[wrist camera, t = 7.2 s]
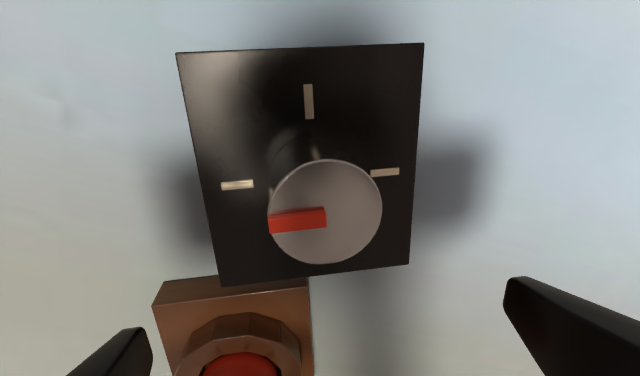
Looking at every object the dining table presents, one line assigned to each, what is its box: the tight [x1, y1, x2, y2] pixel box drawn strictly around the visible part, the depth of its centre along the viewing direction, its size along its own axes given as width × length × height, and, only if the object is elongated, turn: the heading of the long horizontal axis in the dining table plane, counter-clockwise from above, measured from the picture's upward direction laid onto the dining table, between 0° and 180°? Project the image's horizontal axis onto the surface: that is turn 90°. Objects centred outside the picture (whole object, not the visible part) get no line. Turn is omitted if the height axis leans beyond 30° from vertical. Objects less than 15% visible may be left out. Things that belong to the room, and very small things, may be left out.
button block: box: [151, 275, 314, 376], centre depth 20 cm, size 10×9×4 cm
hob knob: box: [267, 135, 382, 265], centre depth 12 cm, size 4×4×4 cm
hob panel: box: [175, 43, 424, 287], centre depth 16 cm, size 11×10×4 cm
